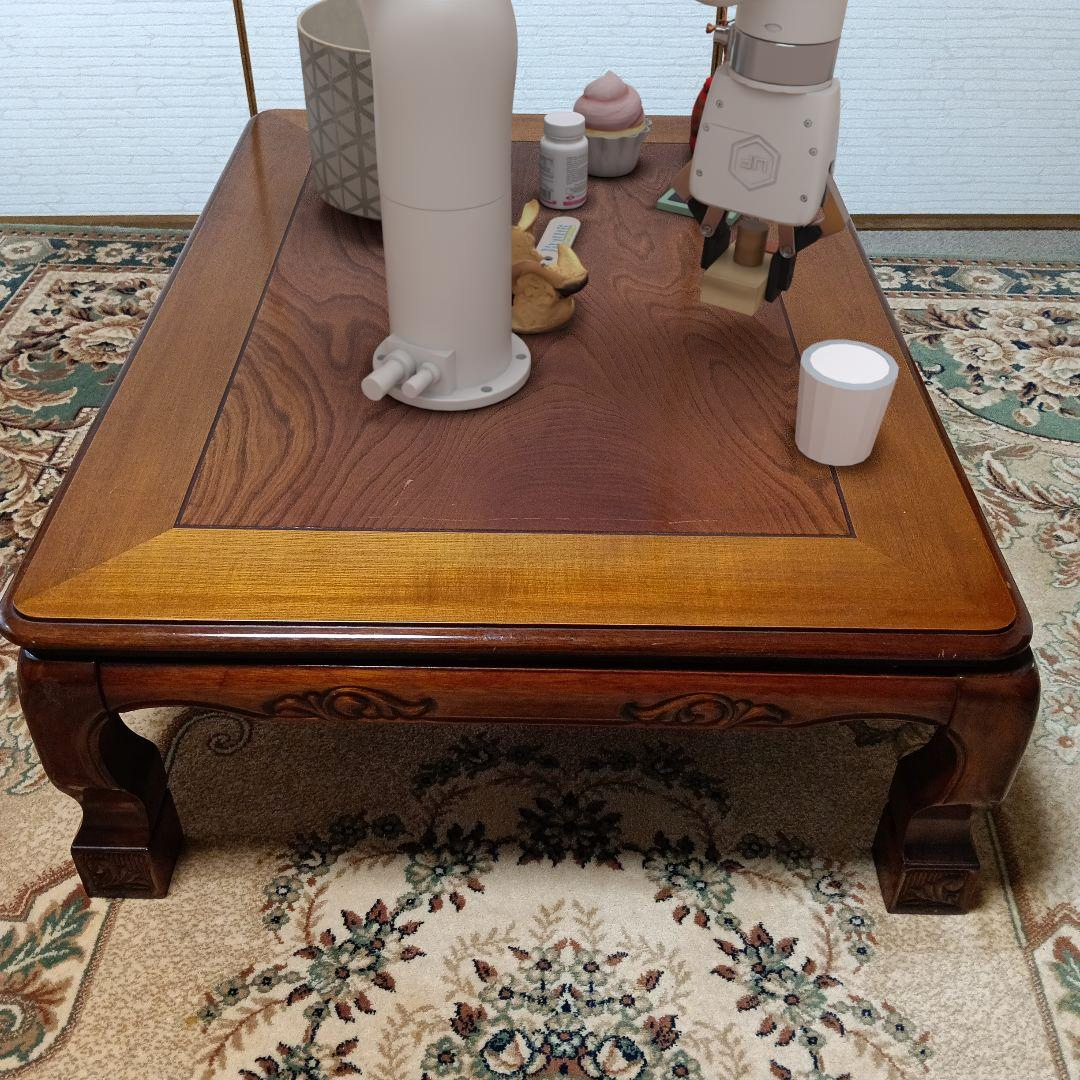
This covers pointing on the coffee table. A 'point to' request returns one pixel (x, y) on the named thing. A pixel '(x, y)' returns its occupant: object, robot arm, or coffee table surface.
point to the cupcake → (612, 125)
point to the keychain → (557, 237)
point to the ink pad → (684, 206)
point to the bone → (542, 280)
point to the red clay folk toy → (704, 90)
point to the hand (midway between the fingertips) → (743, 284)
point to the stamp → (741, 270)
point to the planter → (340, 106)
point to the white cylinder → (842, 400)
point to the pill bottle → (563, 161)
